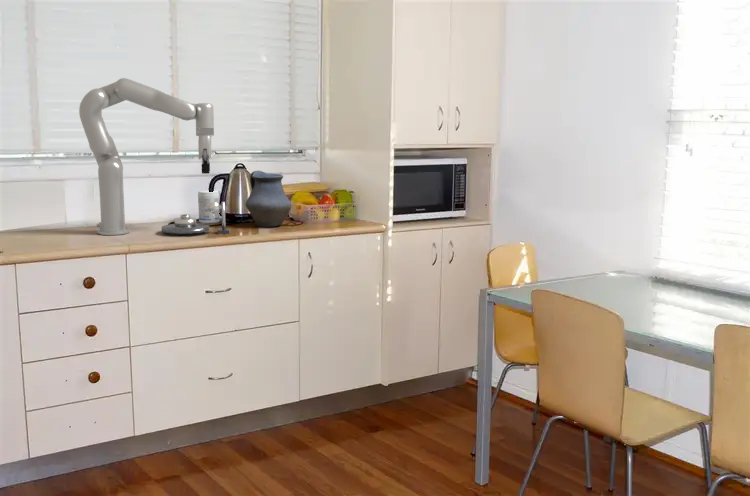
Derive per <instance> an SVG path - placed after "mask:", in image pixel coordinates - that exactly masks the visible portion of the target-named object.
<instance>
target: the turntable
mask: <svg viewBox="0 0 750 496" xmlns="http://www.w3.org/2000/svg"><path fill="white" fill-rule="evenodd" d="M160 228H161V232H162V233H165V234H173V235H177V234H192V235H194V234H193V233H197V234H202V233H207V232H209V231H210V230H211V228H210V225H208V224H207V223H196V226H193V227H177V226H175V223H171V224H164V225H162V226H161V227H160Z"/></svg>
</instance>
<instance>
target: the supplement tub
mask: <svg viewBox="0 0 750 496" xmlns="http://www.w3.org/2000/svg"><path fill="white" fill-rule="evenodd" d="M213 190H214V191H213V192H209V189H206V190H198V193H197V198H198V201H197V203H198V204H197V205H198V222H199V223H200V224H213V213H211V212H210V211H209V210H208V205H209V204H210V203H211V202H216V203H217V204H218V205H219V206H220V195H219V190H216V189H213ZM219 213H220V209H219V210H218V211H217V212H216V213H214V223H215V224H216V223H219V222H220V219H221V217H220V214H221V213H220V214H219Z"/></svg>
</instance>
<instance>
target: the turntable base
mask: <svg viewBox="0 0 750 496" xmlns="http://www.w3.org/2000/svg"><path fill="white" fill-rule="evenodd" d="M197 234H198V233H193V234H176V235H177V236H188V235H189V236H191V235H197Z"/></svg>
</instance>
